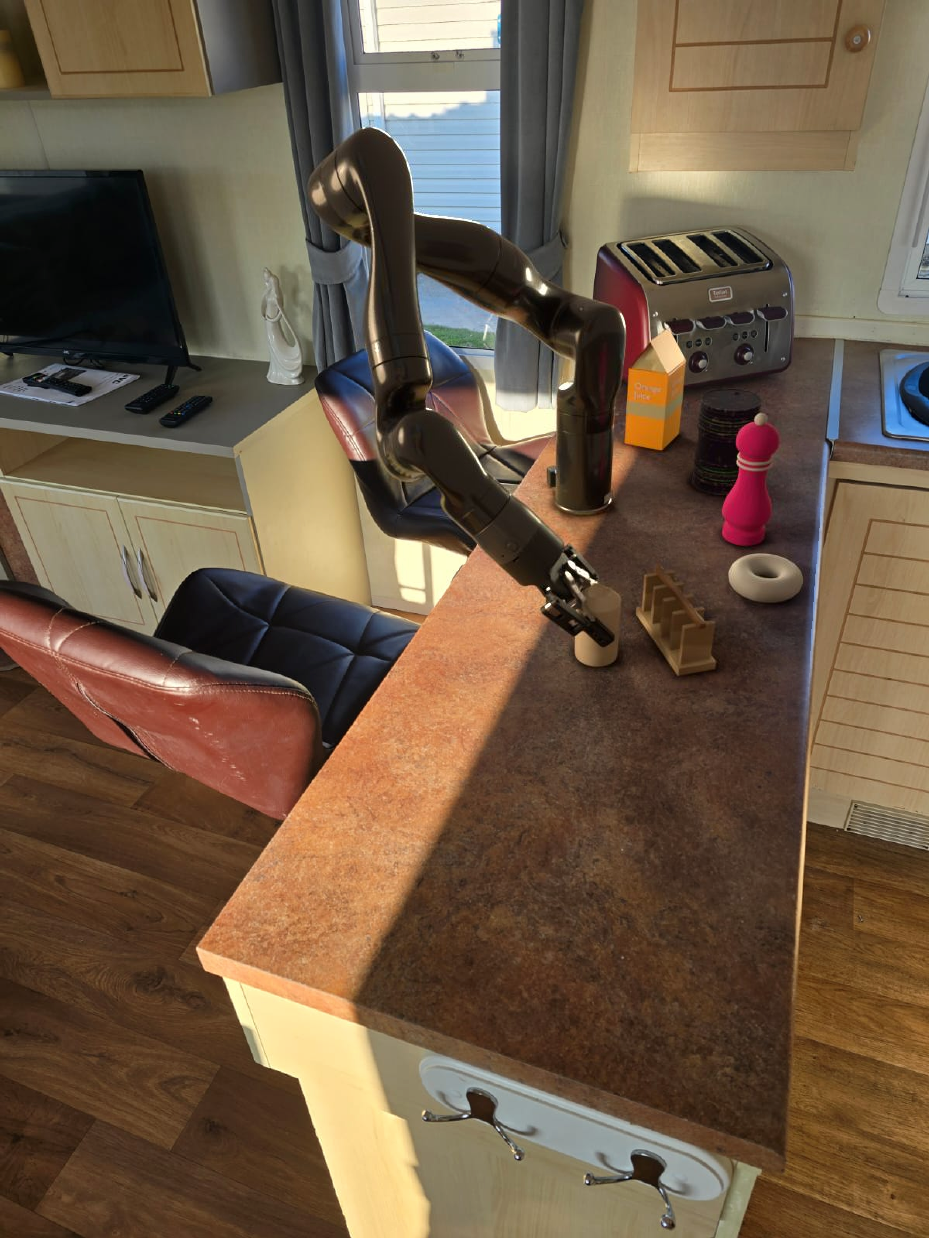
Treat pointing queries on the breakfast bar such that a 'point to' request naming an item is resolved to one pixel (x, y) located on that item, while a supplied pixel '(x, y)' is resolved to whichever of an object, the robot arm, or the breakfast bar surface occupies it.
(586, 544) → the breakfast bar surface
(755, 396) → the storage jar
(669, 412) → the orange juice
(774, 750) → the breakfast bar surface
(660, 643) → the toast rack
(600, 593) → the candle
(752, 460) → the pepper mill
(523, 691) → the breakfast bar surface
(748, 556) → the donut
